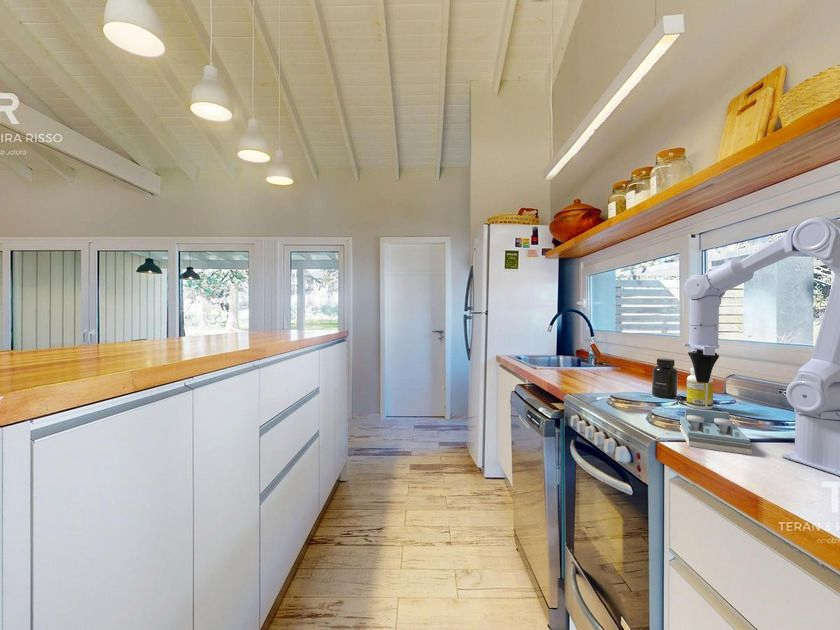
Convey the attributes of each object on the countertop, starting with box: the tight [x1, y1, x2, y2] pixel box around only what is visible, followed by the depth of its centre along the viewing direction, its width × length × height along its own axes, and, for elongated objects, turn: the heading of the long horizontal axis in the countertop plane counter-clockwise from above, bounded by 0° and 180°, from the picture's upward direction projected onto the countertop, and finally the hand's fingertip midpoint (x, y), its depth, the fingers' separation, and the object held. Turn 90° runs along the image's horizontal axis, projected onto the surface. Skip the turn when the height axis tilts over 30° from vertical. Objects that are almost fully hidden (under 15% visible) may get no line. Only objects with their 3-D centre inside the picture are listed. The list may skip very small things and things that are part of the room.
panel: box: [680, 407, 751, 444], centre depth 83 cm, size 12×10×4 cm
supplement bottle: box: [651, 357, 679, 400], centre depth 124 cm, size 7×7×12 cm
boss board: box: [679, 415, 753, 456], centre depth 86 cm, size 20×10×4 cm, turn 153°
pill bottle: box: [686, 367, 714, 410], centre depth 111 cm, size 6×6×11 cm
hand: (702, 382), depth 93 cm, fingers closed
